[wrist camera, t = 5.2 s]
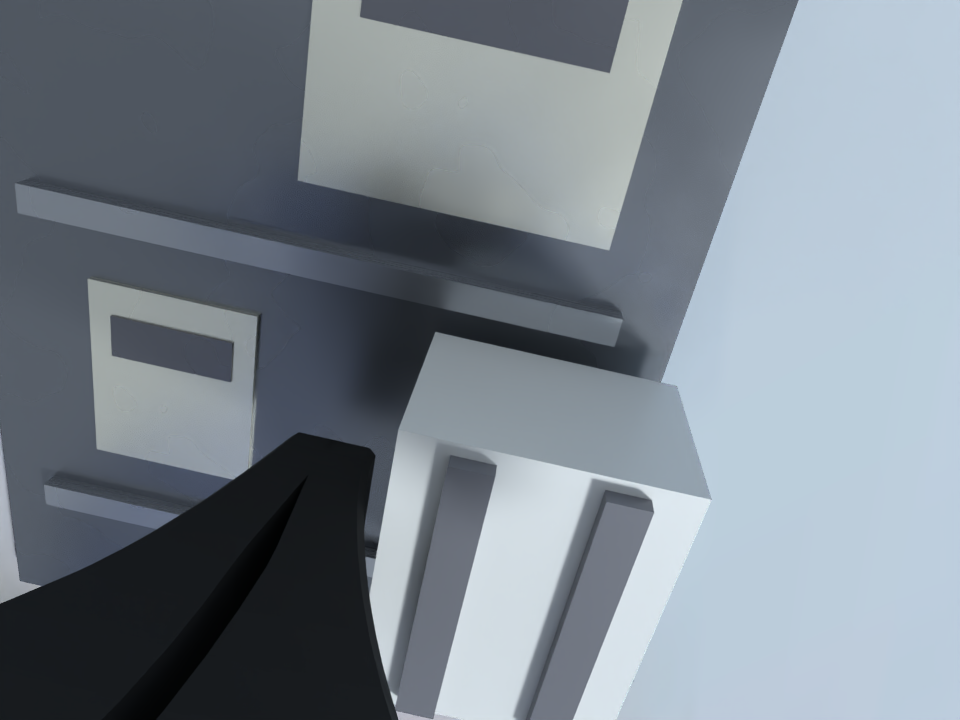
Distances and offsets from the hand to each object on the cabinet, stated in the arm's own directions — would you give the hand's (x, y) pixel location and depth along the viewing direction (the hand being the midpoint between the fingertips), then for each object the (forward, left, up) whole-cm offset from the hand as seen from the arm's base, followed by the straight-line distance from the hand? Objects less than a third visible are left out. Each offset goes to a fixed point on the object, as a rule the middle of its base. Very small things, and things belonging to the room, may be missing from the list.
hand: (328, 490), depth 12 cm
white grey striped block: (0, -3, -2) cm, 4 cm away
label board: (+2, +1, -2) cm, 3 cm away
